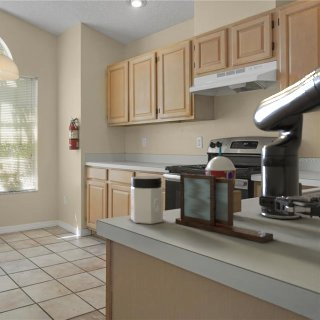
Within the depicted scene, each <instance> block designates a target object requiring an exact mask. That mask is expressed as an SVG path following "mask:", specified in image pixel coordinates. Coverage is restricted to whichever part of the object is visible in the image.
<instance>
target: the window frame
mask: <svg viewBox="0 0 320 320" xmlns="http://www.w3.org/2000/svg"><path fill="white" fill-rule="evenodd" d="M179 185H180V186H179V197H180V198H179V199H180V200H179V201H180V202H179V203H180V204H179V205H180V206H179V207H180V208H179V209H180V211H179V212H180V214H179V215H180V216H179V217H177V218H175V224H178V225H182V226H187V227H191V228H196V229H199V230H203V231H208V232H213V233H217V234H222V235H226V236H231V237H235V238H240V239H245V240H248V241H253V242H256V243H261V244H264V243H266V242H269V241H272V240H274V234H273V233H271V232H266V231H261V230H255V229H251V228H246V227H241V226H235V225H233V226H228V225H223V224H218V223H216V176H213V175H206V174H196V173H195V174H194V173H179Z"/></svg>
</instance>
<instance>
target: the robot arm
mask: <svg viewBox="0 0 320 320" xmlns="http://www.w3.org/2000/svg"><path fill="white" fill-rule="evenodd" d="M319 111H320V65H318V66H317V67H316V68H314V69H312V70H311V71H309V72H308V73H307V74H305V75H304V76H303V77H301V78H300V79H298V80H296V81H295V82H293V83H292V84H290V85H289V86H287V87H286V88H284V89H283V90H281V91H279V92H277V93H275V94H273V95H271V96H269V97H266V98H265V99H262V101H260V102H259V104H257V106H256V107H255V110H254V112H253V116H252V120H253V124H254V125H255V127H256V128H257V129H258V130H260V131H262V132H266V133H267V132H268V133H276V132H278V136H277V138H276V139H275V140H273V141H272V142H269V143H266V144H264V145H262V146H261V148H260V196H258V197H259V198H258V205H259V206H260V215H261V216H262V217H265V218H270V219H279V220H296V219H299V218H306V219H313V217H318V218H319V219H320V195H319V196H318V195H309V196H308V195H307V196H306V195H303V184H302V182H300V149H301V147H302V144H303V128H304V115H305V114H309V113H313V112H319Z"/></svg>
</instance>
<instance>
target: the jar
mask: <svg viewBox="0 0 320 320" xmlns="http://www.w3.org/2000/svg"><path fill="white" fill-rule="evenodd" d="M130 179H131V186H130V219H131V220H132V221H133V222H134V224H135V223H136V224H144V225H145V224H146V225H153V224H159V223H163V222H164V188H163V186H162V182H163V181H162V177H161V176H154V175H153V176H151V175H143V176H142V175H139V176H132V177H131V178H130Z"/></svg>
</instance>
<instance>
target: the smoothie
mask: <svg viewBox="0 0 320 320" xmlns="http://www.w3.org/2000/svg"><path fill="white" fill-rule="evenodd" d="M222 155H223V154H222V146H218V155H217V156H215V157H213V158H211V159H210V160H209V161H208V163H207V165H206V167H205V168H204V169H205V175H213V176H216V178H223V179H233V191H236V189H235V187H236V172H237V171H236V170H237V168H236V167H235V165H234V163H233V162H232V160H231V159H230V158H229V157H225V156H222Z"/></svg>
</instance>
